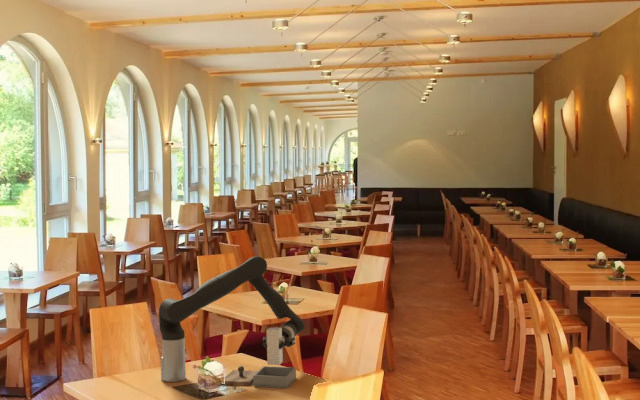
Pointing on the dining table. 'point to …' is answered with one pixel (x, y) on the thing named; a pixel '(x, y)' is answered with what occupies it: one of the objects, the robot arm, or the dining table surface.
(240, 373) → the stud block
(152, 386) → the dining table surface
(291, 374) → the grey tray
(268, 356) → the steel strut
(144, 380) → the dining table surface
